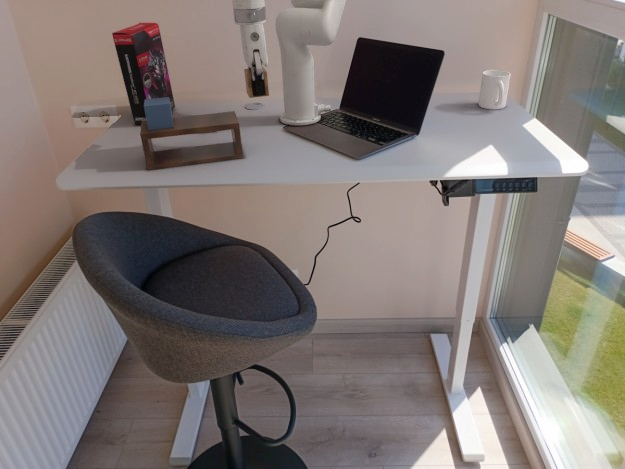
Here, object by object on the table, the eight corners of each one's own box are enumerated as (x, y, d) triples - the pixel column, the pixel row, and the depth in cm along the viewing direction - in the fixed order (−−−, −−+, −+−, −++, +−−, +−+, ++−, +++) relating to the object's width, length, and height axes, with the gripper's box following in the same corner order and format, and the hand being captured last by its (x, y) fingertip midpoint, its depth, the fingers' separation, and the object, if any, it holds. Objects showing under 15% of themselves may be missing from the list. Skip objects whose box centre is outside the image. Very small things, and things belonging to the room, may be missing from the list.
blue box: (173, 120, 130) (169, 96, 127) (173, 127, 125) (169, 103, 122) (149, 122, 129) (144, 99, 126) (148, 130, 124) (143, 106, 121)
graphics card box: (152, 126, 155) (133, 32, 141) (132, 125, 157) (110, 32, 142) (176, 109, 170) (160, 21, 155) (157, 108, 171) (139, 22, 157)
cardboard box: (265, 90, 132) (263, 66, 129) (269, 95, 128) (266, 71, 125) (246, 92, 131) (244, 68, 128) (249, 98, 127) (246, 73, 124)
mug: (512, 113, 154) (518, 79, 149) (485, 114, 155) (490, 80, 149) (500, 101, 164) (506, 69, 159) (475, 102, 165) (479, 70, 159)
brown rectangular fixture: (238, 144, 140) (234, 110, 135) (243, 158, 132) (239, 122, 127) (149, 155, 135) (141, 121, 130) (148, 170, 127) (140, 134, 122)
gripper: (272, 20, 113) (278, 100, 123) (259, 9, 127) (266, 81, 137) (238, 23, 112) (247, 104, 122) (230, 11, 126) (238, 85, 136)
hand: (257, 91), depth 129 cm, fingers closed on cardboard box, 5 cm apart
